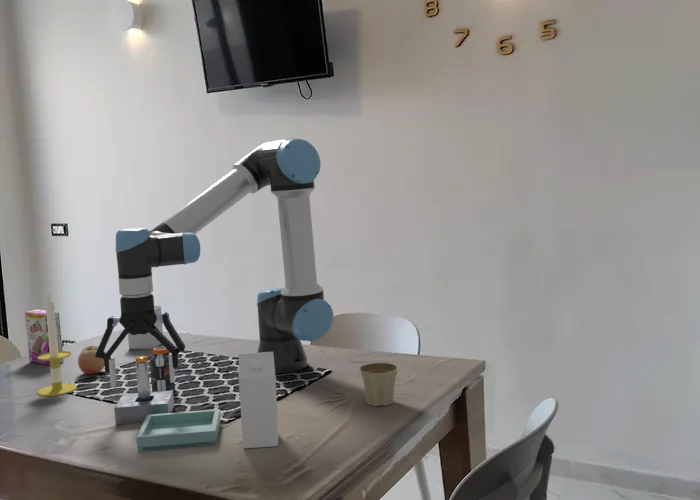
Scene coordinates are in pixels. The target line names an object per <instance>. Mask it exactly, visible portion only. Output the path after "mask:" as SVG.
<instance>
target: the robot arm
mask: <svg viewBox="0 0 700 500" xmlns="http://www.w3.org/2000/svg"><path fill="white" fill-rule="evenodd" d="M320 171H321V157H320V154H319V152H318V150H317V149H316V148H315V146H314V145H313V144H311V142H309V141H308V140H305V139H302V138H292V137H291V138H287V139H286V138H285V139H280V140H271V141H268V142H267V141H266V142H264V143H262V144H260V145H258V146H257V147H256V148H254V149H253V150H251V151H250V152H249V153H247V154H246V155H245V156H243V157H242V158H241V159H240V160H239V161H237V162H235V163H234V164H233V166H232V170H231V171H229V173H227V174H226V175H224V176H223V177H221V179H219V180H218V181H216V182H215V183H213V184H212V185H211V186H210V187H208V188H207V189H206V190H204V191H203V192H201V193H200V194H198V196H196V197H194V198H193V199H192V200H191V201H189V202H188V203H187V204H185V205H184V206H182V207H181V208H180V209H179V210H177V211H176V212H175V213H173V214H172V215H171V216H169V217H168V218H166V219H165V220H163V221H162V222H161V223H159V224H158V225H157V226H155V227H154V228H153V229H151V230H149V229H148V228H145V227H138V228H137V227H135V228H124V229H119V230H118V231H117V232H116V233H115V254H116V263H117V265H116V266H117V274H118V279H117V280H118V292H119V295H120V296H121V297H120V299H119V302H120V317H118V316H117V317H116V316H113V315H110V316H109V317H108V318H107V320H106V329H105V331H104V333H103V336H102V338H101V340H100V343H99V346H98V350H97V352H96V354H95V356H96V357H97V358H103V359H104V364H105V366H104V371H105V372H104V373H106V374H108V373H109V378H110V379H109V380H110V388H115V387H116V385H117V371H116V357H115V356H112V355H114V352H115V351H116V350H117V349H118V348H119V346H120V344H121V343H122V342H123V340H125V338H126V337H127V336H128V333H130V334H132V335H137V334H147V333H148V332H149V333H150V334H151V335H152V336H154V337H155V338H156V339H157V340H158V341H159V342H160V343H161V344H160V345H162V347H165V348H166V349H167V350H168V351H169V370H170V383H174V382H175V380H176V375H175V374H176V373H175V372H176V371H175V369H176V368H178V367H179V353H182V352H183V353H184V351H185V348H186V344H185V343H184V342H183V340H182V338H181V337H180V335H179V333H178V332H177V330H176V328H175V327H174V325H173V324H172V322H171V318H170V315H169V312H164V313H161V314H160V315H156V313H155V309H154V306H155V300H154V298H155V297H154V295H153V294H152V293H153V292H154V285H153V273H152V270H153V268H159V267H169V266H177V265H179V266H180V265H187V264H192V263H193V264H194V263H196V262H198V260H199V258H200V256H201V243H200V239H199V238H198V236H197V233H199V232H200V231H201V230H203V229H204V228H205V227H207V226H208V225H209V224H210V223H213V221H214V220H216V219H217V218H218V217H220V216H221V215H223V213H225V212H226V211H228V210H229V209H230V208H231V207H233V206H234V205H235V204H237V203H238V202H240V201H241V200H242V199H243V198H245V197H246V196H247V195H248V194H256V193H257V192H259V191H260V190H261V189H263V188H265V187H268V186H270V192H271V194H272V195H274V196H275V197H276V198H277V207H278V208H277V209H278V219H279V229H280V240H281V249H282V250H281V251H282V261H283V273H284V284H285V286H284V287H280V288H279V287H277V288H273V289H272V288H271V289H264V290H261V291H260V292H258V294H257V302H256V306H257V316H258V317H257V319H258V331H259V332H258V334H259V345H258V348H257V352H256V353H261V352H273V354H274V364H275V375H276V374H286V373H287V374H289V373H294V372H298V371H301V370H303V369H306V367H307V366H308V356H307V354H306V352H305V348H304V347H303V344H302V341H305V342H306V341H307V342H315V341H318V340H319V341H320V339H322V338H324V337H325V336H326V335H327V333H328V331H329V330H330V329H331V327H332V325H333V322H334V311H333V308H332V306H331V305H330V304H329V303H328V301H327V300H325V296H324V295H325V294H324V287H322V286H321V285H320V284H319V283H318V279H317V267H316V255H315V244H314V233H313V223H312V212H311V211H312V209H311V201H310V200H311V197H310V196H311V193H312V192H313V191H314V190H315V179H316V178H317V177H318V174H319V173H320ZM157 320H159V321H160V322H161V323H162V324H163V325H164V328H165V330H167V332H168V334H169V336H170V338H171V339H172V341H173V342H174V343H172V341H170V339H168V338H167V336H165V335H164V333H163V334H162V333H161V332H160V331H159V330H158V328H157V327H156V326H155V325H154V324H155V322H156V321H157ZM118 324H120V325H121V326H122V327H123V330H122V331H121V332H120V334H119V336H118V337H117V338H116V340H115V341H114V342H113V343H112V345H111V346H110V347H109V349H108V350H107V351H105V349H106V347H107V344H108V343H109V340H110V337H111V335H112V333H113V331H114V329H115V327H116V326H118ZM174 344H175V345H176V346H175V345H174ZM104 351H105V352H104Z"/></svg>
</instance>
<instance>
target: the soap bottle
mask: <svg viewBox="0 0 700 500" xmlns="http://www.w3.org/2000/svg"><path fill="white" fill-rule="evenodd" d="M154 309H155V313H156V315H160V314H162V306H160V305H154ZM154 325H155V326H156V327H157V328H158V330H159V331H160V332H161V333H162V334H163V335H164V333H163V332H164V331H163V330H164V329H163V323H161V322H160V321H159V320H157V321H156V322H155V324H154ZM127 336H128V337H127V340H128V349H129V350H153V349H154V348H156V347H160V345H162V344H161V343H160V342H159V341H158V340H157V339H156V338H155V337H154V336H152V335H151V334H150V333H149V332H148V333H147V334H137V335H132V334H130V333H128V334H127Z"/></svg>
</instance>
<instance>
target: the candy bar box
mask: <svg viewBox="0 0 700 500" xmlns="http://www.w3.org/2000/svg"><path fill="white" fill-rule="evenodd" d="M24 315H25V318H24V319H25V327H26V338H27V347H28V356H29V357H28V358H29V362H30V363H34V364H39V365H45V366H49V367H50V361H42V360H38V358H37V357H38V356H39V355H42V354H45V353H49V352H50V350H49V339H48V328H47V317H46V309H33V310H27V311H25V312H24ZM55 321H56V332H57V343H58V351H63V342H62V331H61V320H60V312H59V311H55ZM62 363H64V358H63V359H60V364H62Z"/></svg>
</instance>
